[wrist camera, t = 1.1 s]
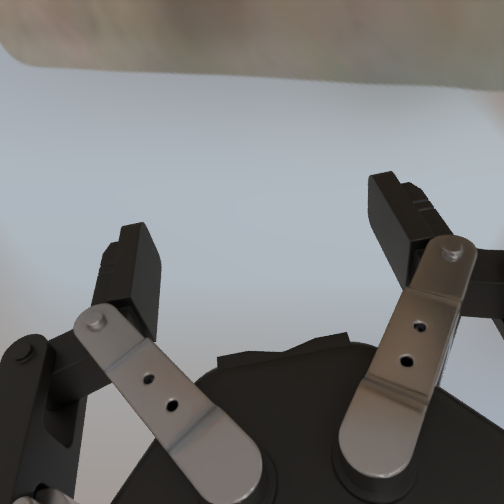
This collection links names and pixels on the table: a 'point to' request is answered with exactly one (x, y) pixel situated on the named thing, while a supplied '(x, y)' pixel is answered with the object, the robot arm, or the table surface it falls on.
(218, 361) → the robot arm
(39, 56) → the table surface
